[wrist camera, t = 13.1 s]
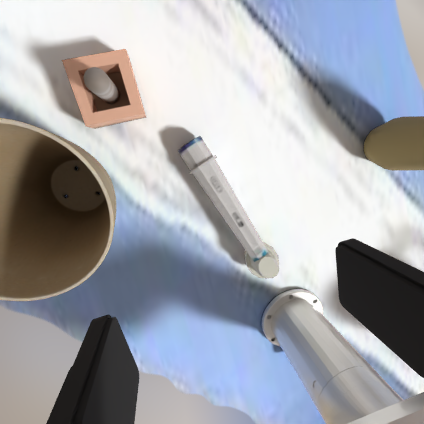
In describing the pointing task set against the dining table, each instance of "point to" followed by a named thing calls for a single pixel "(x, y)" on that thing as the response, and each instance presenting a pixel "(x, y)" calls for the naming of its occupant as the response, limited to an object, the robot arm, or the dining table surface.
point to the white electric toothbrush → (229, 208)
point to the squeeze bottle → (397, 144)
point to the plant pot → (50, 213)
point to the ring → (83, 95)
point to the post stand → (106, 90)
